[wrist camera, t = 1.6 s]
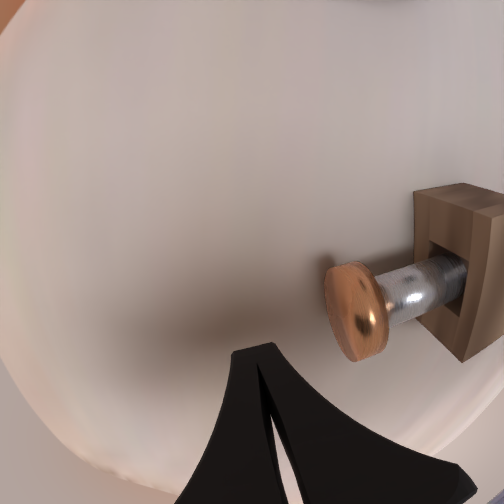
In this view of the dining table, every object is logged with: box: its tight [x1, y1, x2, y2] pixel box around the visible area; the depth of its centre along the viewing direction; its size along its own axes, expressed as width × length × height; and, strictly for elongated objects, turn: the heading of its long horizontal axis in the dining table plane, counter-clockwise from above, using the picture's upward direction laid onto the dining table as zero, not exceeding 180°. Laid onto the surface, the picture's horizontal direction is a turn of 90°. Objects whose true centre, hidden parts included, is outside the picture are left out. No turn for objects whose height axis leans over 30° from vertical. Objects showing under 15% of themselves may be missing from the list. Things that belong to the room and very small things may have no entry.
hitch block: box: [414, 183, 504, 363], centre depth 11 cm, size 4×7×5 cm, turn 11°
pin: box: [324, 252, 467, 362], centre depth 11 cm, size 6×4×4 cm, turn 101°
